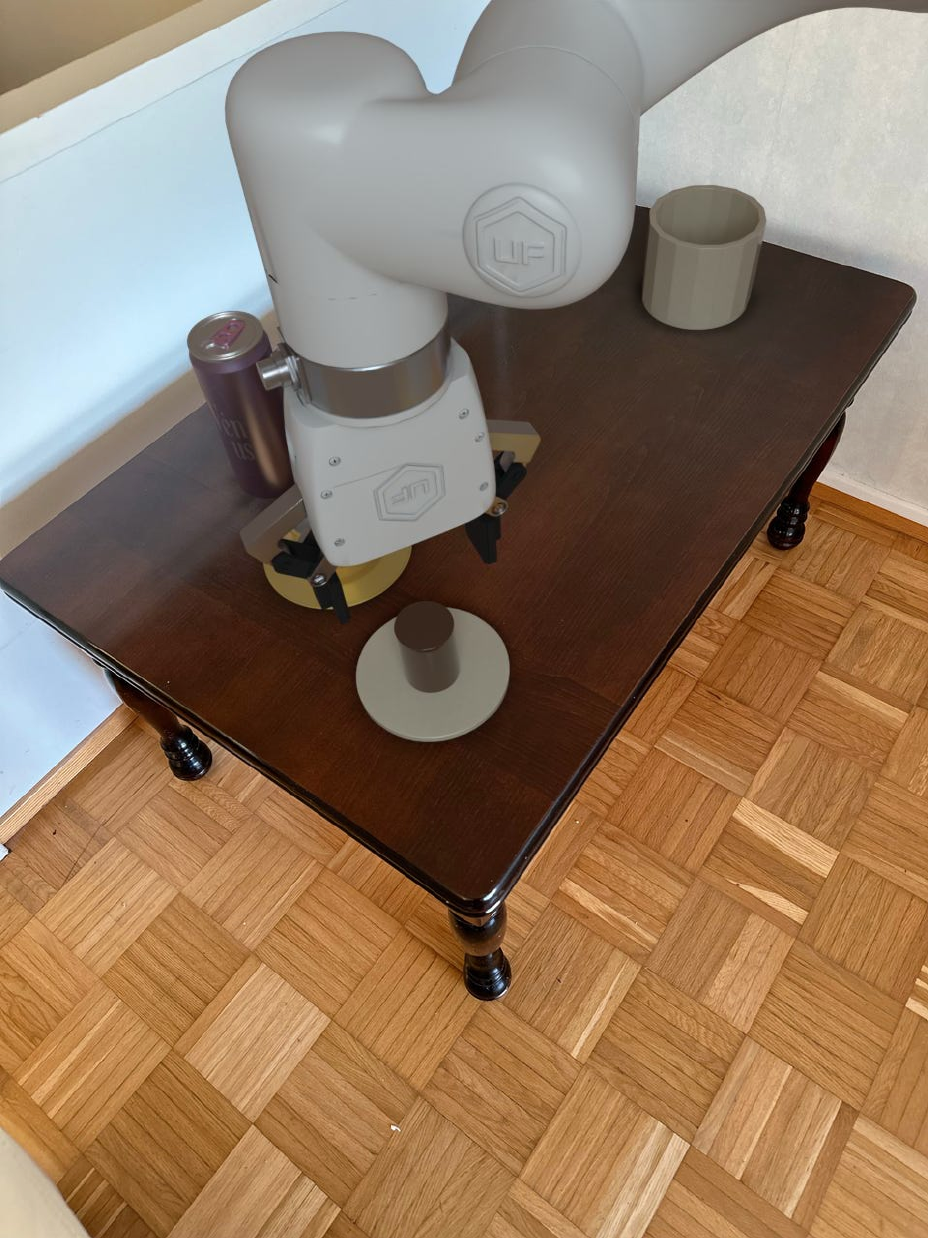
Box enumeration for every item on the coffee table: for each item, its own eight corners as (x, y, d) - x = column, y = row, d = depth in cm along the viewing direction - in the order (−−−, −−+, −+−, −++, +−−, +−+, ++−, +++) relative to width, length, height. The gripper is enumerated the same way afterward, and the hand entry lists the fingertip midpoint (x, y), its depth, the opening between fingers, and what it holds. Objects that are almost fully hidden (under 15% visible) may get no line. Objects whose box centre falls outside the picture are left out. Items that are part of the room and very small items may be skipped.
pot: (743, 265, 91) (759, 183, 84) (753, 329, 85) (771, 247, 78) (640, 266, 92) (648, 185, 85) (642, 330, 86) (651, 249, 79)
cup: (438, 571, 71) (431, 525, 67) (297, 636, 68) (280, 593, 64) (374, 477, 77) (364, 429, 73) (243, 533, 75) (224, 487, 70)
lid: (514, 617, 68) (511, 561, 62) (505, 749, 62) (501, 700, 56) (370, 613, 69) (355, 558, 64) (347, 742, 63) (328, 693, 57)
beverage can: (321, 464, 79) (280, 318, 67) (285, 512, 76) (236, 368, 64) (263, 447, 81) (213, 301, 68) (226, 493, 78) (167, 350, 65)
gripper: (212, 464, 38) (298, 678, 52) (574, 334, 41) (564, 567, 55) (168, 362, 42) (259, 585, 56) (501, 251, 46) (508, 488, 59)
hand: (410, 576), depth 56 cm, fingers open, 9 cm apart
